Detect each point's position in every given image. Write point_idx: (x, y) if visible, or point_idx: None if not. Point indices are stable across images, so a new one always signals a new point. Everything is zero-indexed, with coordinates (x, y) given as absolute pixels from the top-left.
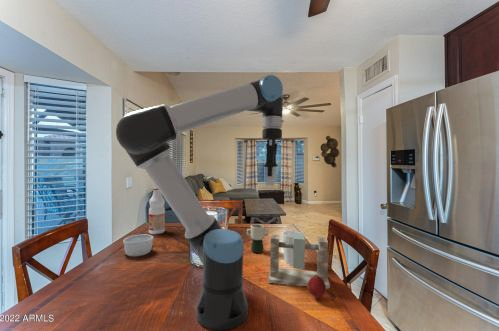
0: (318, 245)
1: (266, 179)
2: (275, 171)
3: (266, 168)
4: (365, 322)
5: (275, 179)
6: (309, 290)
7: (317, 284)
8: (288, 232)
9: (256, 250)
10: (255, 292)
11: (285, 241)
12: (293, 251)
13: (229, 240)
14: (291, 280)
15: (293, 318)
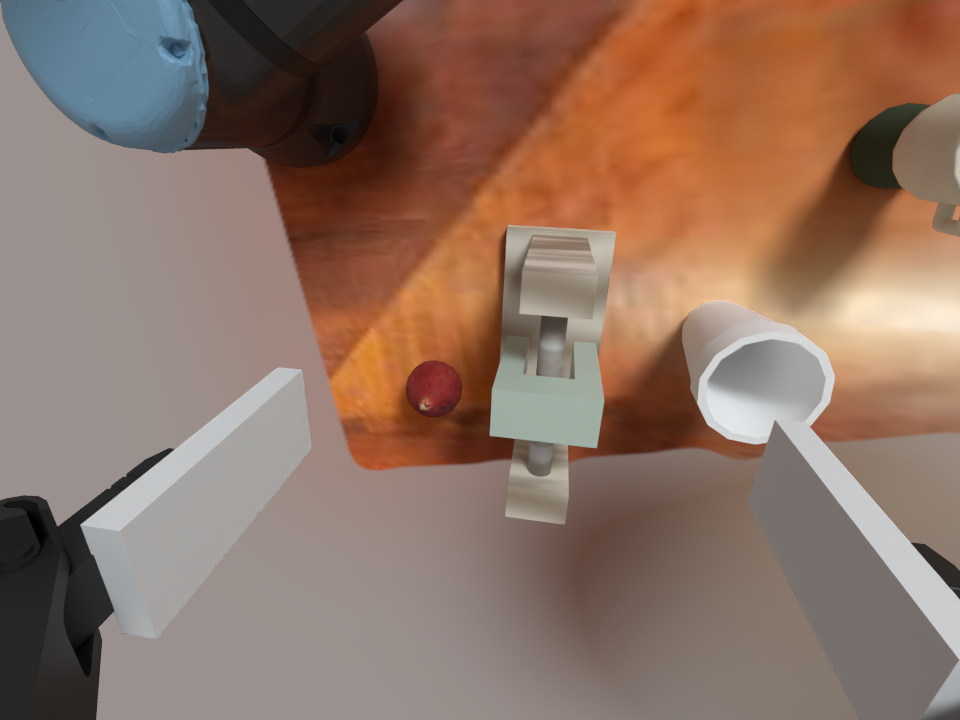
0: (533, 473)
1: (235, 408)
2: (831, 654)
3: (100, 512)
4: (362, 454)
5: (765, 534)
6: (422, 363)
7: (408, 394)
8: (818, 371)
9: (860, 145)
10: (437, 179)
11: (717, 336)
12: (515, 361)
13: (58, 77)
14: (509, 314)
15: (333, 297)
